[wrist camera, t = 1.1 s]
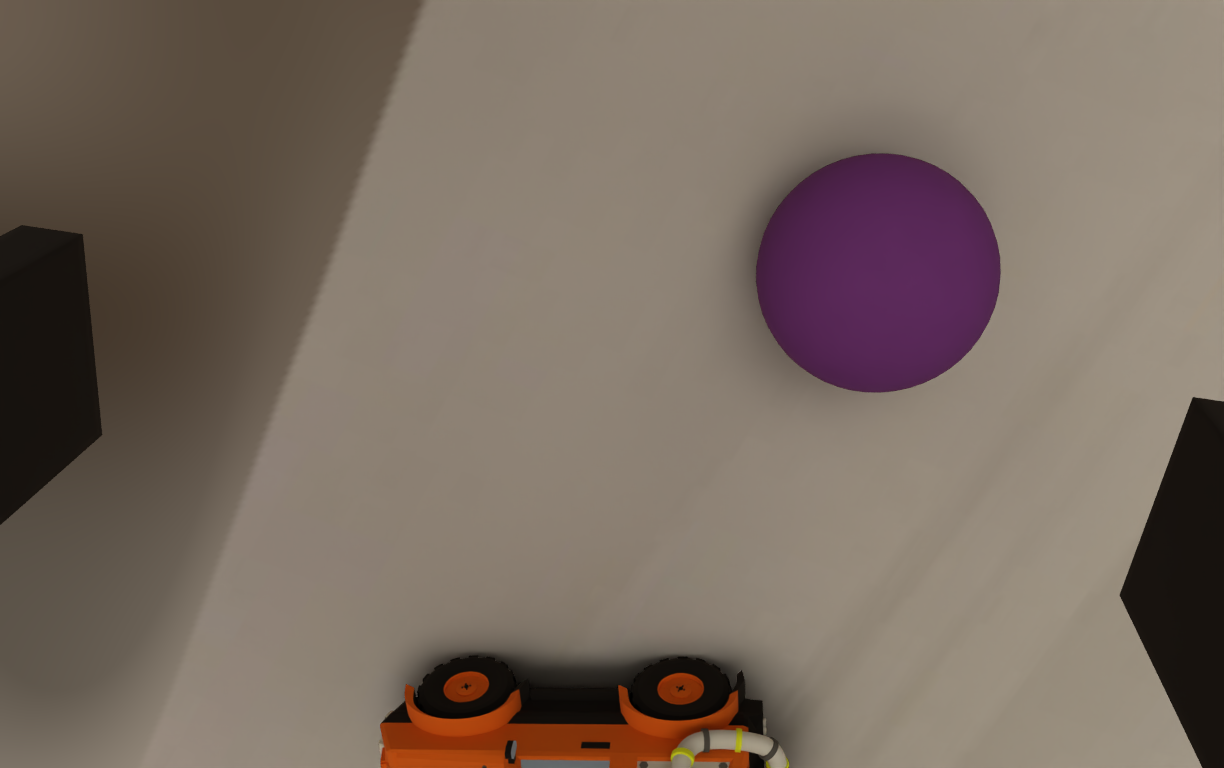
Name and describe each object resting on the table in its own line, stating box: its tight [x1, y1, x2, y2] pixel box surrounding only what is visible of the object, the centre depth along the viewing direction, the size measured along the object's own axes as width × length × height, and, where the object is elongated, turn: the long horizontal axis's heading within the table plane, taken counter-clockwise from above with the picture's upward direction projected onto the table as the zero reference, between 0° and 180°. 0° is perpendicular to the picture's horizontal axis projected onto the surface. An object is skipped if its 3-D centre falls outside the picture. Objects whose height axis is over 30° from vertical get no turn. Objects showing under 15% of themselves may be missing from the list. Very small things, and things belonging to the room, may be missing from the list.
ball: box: [756, 154, 1000, 392], centre depth 24 cm, size 5×5×5 cm
